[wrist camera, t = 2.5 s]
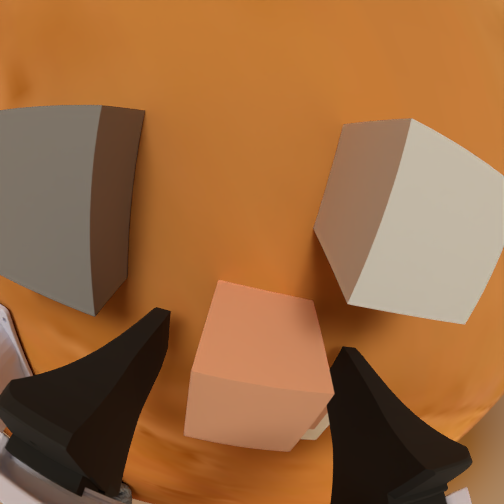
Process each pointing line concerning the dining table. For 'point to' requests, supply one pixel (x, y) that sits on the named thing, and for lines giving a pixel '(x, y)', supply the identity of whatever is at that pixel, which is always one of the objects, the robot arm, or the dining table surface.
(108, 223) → the grey slab
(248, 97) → the dining table surface
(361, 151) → the beige block
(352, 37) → the dining table surface
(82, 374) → the robot arm
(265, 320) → the terracotta block
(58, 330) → the dining table surface
